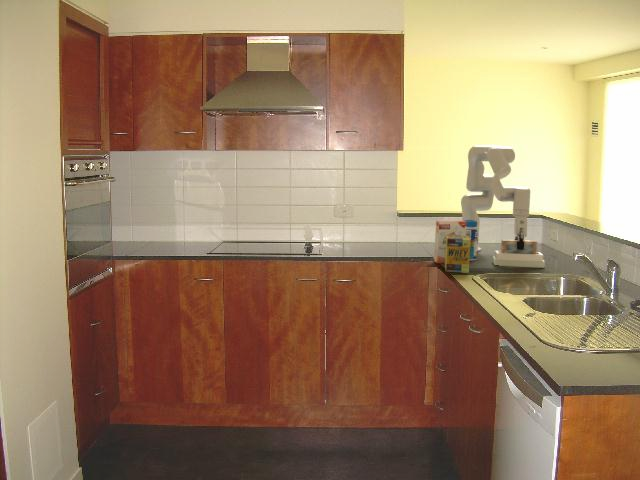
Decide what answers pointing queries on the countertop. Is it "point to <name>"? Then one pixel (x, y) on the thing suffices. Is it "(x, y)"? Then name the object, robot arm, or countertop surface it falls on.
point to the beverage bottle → (472, 238)
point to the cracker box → (440, 236)
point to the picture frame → (511, 247)
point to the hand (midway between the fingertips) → (518, 248)
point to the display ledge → (519, 259)
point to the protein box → (457, 253)
